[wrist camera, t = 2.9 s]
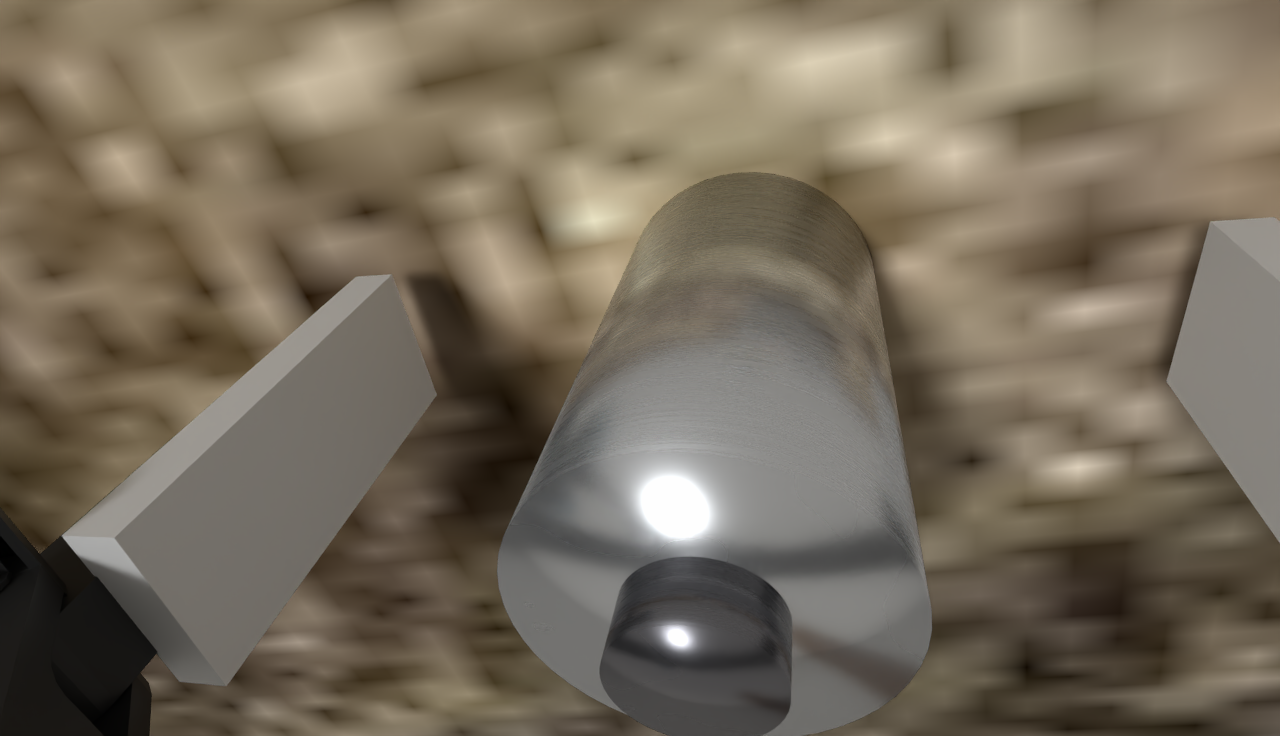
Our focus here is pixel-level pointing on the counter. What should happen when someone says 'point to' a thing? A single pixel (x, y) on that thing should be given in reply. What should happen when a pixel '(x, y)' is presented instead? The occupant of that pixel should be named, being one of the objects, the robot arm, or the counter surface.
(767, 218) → the cell
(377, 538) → the counter surface
